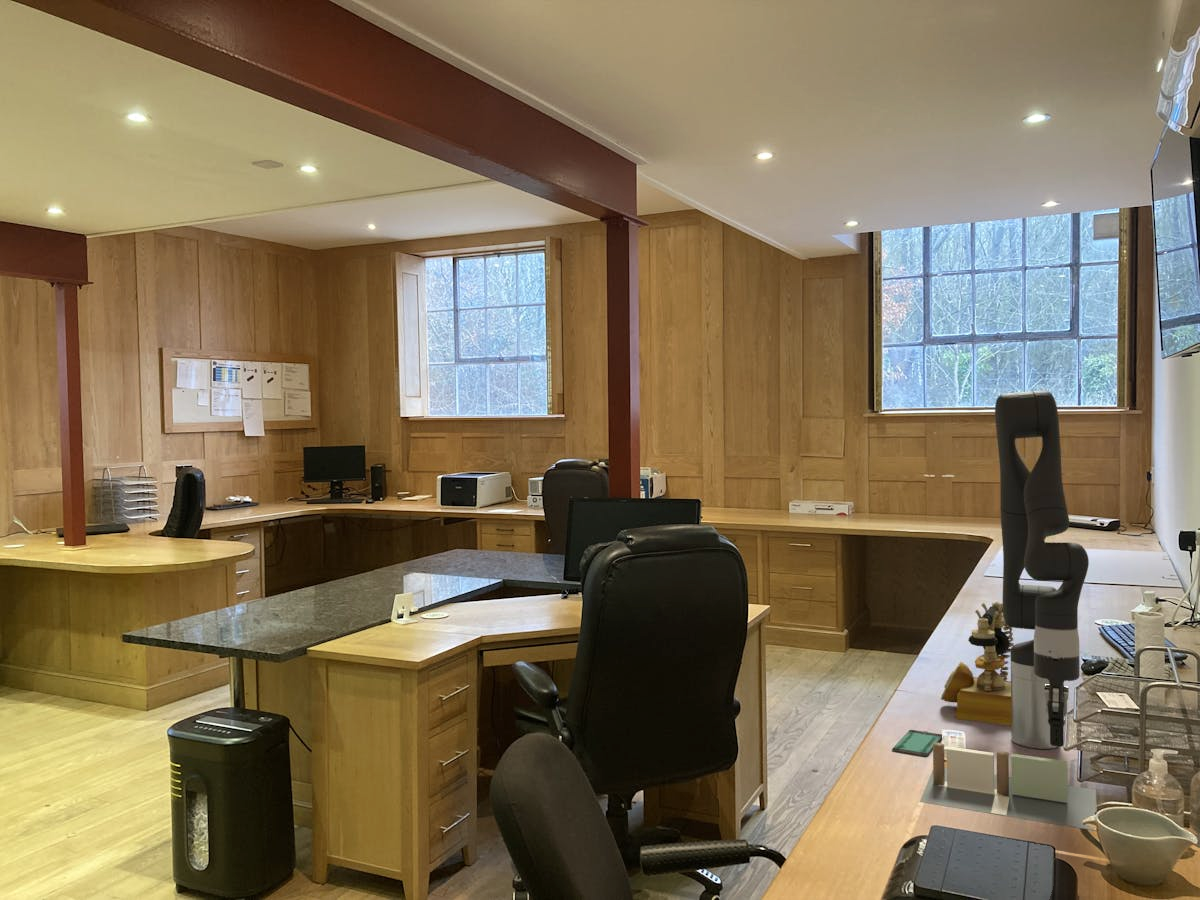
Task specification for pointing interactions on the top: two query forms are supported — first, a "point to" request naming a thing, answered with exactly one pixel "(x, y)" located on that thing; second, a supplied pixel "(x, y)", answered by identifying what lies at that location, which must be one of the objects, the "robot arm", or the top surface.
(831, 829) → the top surface
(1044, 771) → the fence gate panel
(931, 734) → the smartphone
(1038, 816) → the board
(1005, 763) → the fence fixed section
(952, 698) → the tan ornate piece
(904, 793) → the top surface
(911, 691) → the top surface
